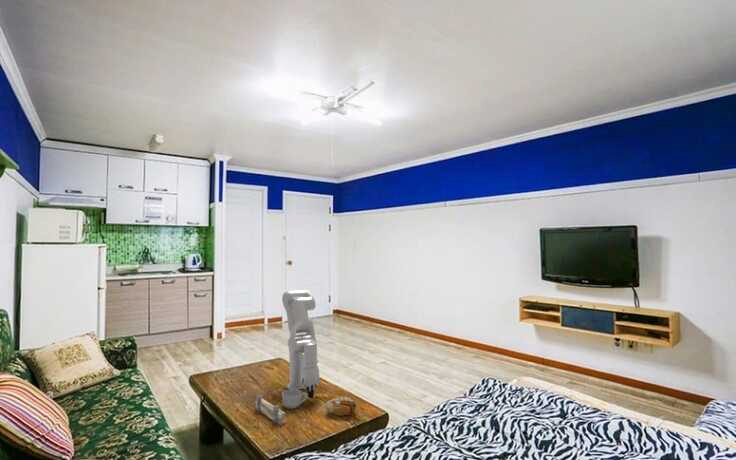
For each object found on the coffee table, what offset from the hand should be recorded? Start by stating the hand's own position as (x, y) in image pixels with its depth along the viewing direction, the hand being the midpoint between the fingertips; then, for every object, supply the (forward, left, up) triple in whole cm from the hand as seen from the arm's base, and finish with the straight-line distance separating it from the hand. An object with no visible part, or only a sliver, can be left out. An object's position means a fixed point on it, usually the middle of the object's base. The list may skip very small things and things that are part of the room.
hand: (310, 397), depth 211 cm
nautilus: (-2, +27, -2) cm, 27 cm away
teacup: (+10, 0, -2) cm, 11 cm away
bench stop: (+25, 0, -2) cm, 26 cm away
